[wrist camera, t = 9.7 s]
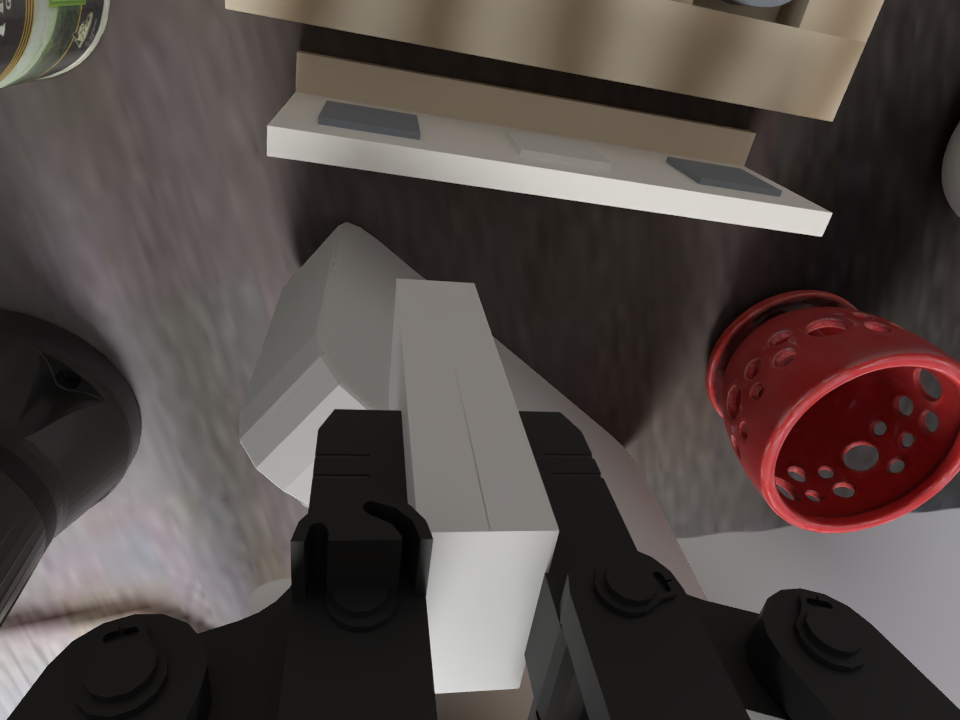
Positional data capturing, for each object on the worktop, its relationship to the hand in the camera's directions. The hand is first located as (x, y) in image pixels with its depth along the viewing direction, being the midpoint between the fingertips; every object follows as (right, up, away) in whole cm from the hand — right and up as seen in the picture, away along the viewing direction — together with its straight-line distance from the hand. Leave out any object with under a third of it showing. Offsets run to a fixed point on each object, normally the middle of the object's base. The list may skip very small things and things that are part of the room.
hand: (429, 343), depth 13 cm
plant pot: (+22, 0, +34) cm, 41 cm away
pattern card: (+4, +12, +24) cm, 27 cm away
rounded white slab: (+1, -1, +32) cm, 32 cm away
